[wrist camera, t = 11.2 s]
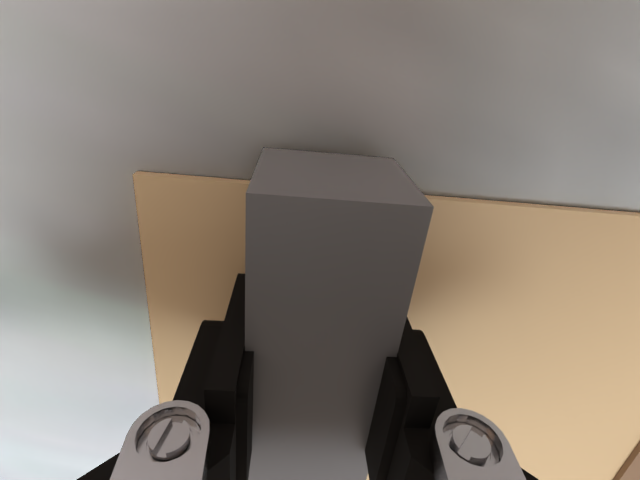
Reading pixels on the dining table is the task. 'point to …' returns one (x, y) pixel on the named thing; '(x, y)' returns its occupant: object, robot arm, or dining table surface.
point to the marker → (325, 303)
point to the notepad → (453, 312)
